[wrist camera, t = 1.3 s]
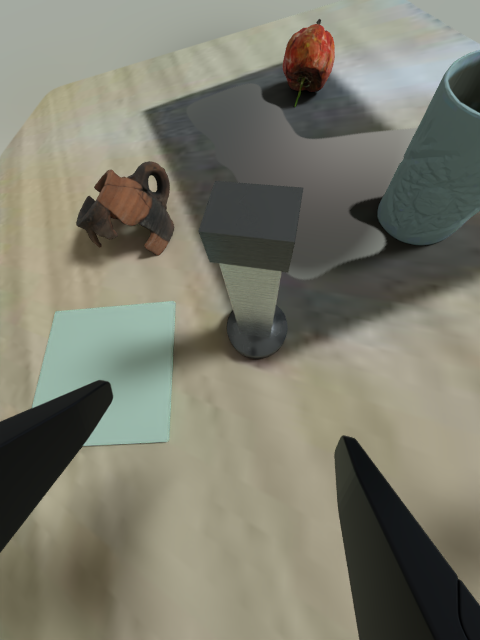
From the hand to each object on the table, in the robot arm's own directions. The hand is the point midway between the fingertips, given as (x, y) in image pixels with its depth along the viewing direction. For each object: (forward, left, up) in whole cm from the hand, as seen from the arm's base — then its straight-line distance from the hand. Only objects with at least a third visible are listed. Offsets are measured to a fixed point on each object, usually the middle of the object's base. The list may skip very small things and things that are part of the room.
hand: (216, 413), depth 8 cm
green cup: (+20, -22, -14) cm, 33 cm away
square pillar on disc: (+7, -2, -14) cm, 16 cm away
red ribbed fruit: (+47, -13, -14) cm, 51 cm away
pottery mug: (+23, +12, -14) cm, 29 cm away
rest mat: (+4, +14, -14) cm, 20 cm away
